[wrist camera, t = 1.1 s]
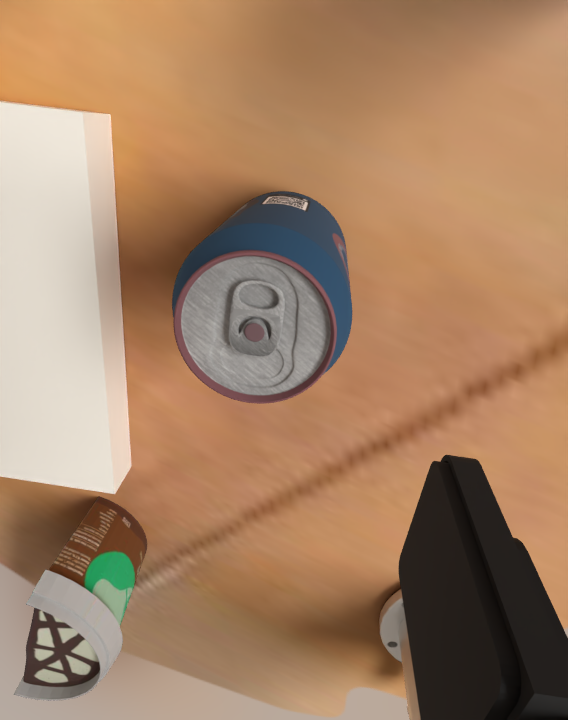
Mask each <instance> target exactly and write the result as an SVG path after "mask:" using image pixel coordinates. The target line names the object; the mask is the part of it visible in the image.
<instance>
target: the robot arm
mask: <svg viewBox="0 0 568 720" xmlns="http://www.w3.org/2000/svg"><path fill="white" fill-rule="evenodd" d="M399 579H400V586H401V589H400V590H399V591H397V592H396V593H395V594H393V595H392V596H391V597H390V598H389V599H388V601H387V602H386V603H385V604H384V606H383V608H382V610H381V612H380V618H379V626H380V636H381V639H382V643H383V644H384V646H385V648H386V649H387V651H388V652H389V653H390V654H391V655H392V656H393V657H394V658H396V659H397V660H398V661H400V662H401V663H402V665H403V673H404V681H405V689H406V696H407V704H408V706H407V710H408V714H409V719H410V720H568V638H567V636H566V634H565V631H564V629H563V627H562V625H561V623H560V621H559V618H558V616H557V614H556V612H555V610H554V608H553V605H552V603H551V601H550V599H549V597H548V595H547V592H546V590H545V588H544V586H543V584H542V582H541V579H540V577H539V575H538V573H537V571H536V569H535V566H534V564H533V562H532V560H531V558H530V555H529V553H528V551H527V550H526V548H525V546H524V545H523V543H522V542H521V541H520V540H518V539H517V538H513V537H512V535H511V532H510V530H509V528H508V526H507V523H506V521H505V519H504V517H503V514H502V512H501V510H500V507H499V505H498V503H497V501H496V498H495V496H494V494H493V492H492V489H491V487H490V485H489V482H488V480H487V478H486V476H485V473H484V471H483V469H482V467H481V464H480V463H479V461H478V460H476V459H472V458H465V457H458V456H451V455H445V456H444V457H443V458H442V460H441V462H438V461H433V462H432V464H431V466H430V469H429V472H428V475H427V478H426V481H425V484H424V487H423V490H422V493H421V496H420V499H419V502H418V505H417V508H416V511H415V514H414V517H413V520H412V522H411V525H410V528H409V531H408V534H407V537H406V540H405V543H404V546H403V549H402V552H401V555H400V560H399Z"/></svg>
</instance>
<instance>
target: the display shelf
mask: <svg viewBox="0 0 568 720" xmlns="http://www.w3.org/2000/svg"><path fill="white" fill-rule="evenodd" d="M130 468H131V450H130V434H129V417H128V400H127V383H126V366H125V349H124V333H123V316H122V299H121V282H120V265H119V248H118V232H117V215H116V198H115V181H114V164H113V147H112V131H111V114H104V113H96V112H88V111H80V110H72V109H64V108H56V107H48V106H40V105H32V104H24V103H15V102H7V101H0V476H1V477H7V478H14V479H20V480H27V481H33V482H40V483H46V484H53V485H59V486H66V487H72V488H79V489H85V490H92V491H98V492H105V493H111V494H115V493H116V491H117V490H118V488H119V486H120V485H121V483H122V481H123V480H124V478H125V476H126V475H127V473H128V471H129V470H130Z"/></svg>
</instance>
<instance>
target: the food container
mask: <svg viewBox="0 0 568 720" xmlns="http://www.w3.org/2000/svg"><path fill="white" fill-rule="evenodd" d="M146 550H147V539H146V536H145V533H144V531H143V529H142V527H141V526H140V524H139V523H138V521H137V520H136V519H135V518H134V517H133V516H132V515H131V514H130V513H128V512H127V511H126V510H125V509H123V508H122V507H120V506H119V505H117V504H115V503H113V502H111V501H109V500H107V499H104V498H102V497H98V498H97V500H96V501H95V503H94V504H93V506H92V507H91V509H90V510H89V512H88V513H87V514H86V516H85V517H84V519H83V520H82V522H81V523H80V525H79V526H78V528H77V529H76V531H75V532H74V533H73V535H72V536H71V538H70V539H69V541H68V542H67V544H66V545H65V547H64V548H63V550H62V551H61V553H60V554H59V555H58V557H57V558H56V560H55V561H54V563H53V564H52V566H51V567H50V569H49V570H45V571H44V573H43V575H42V576H41V578H40V580H39V582H38V583H37V585H36V587H35V588H34V590H33V592H32V595H31V597H30V598H29V600H28V601H27V603H26V605H29V606H32V607H34V614H33V619H32V624H31V629H30V632H29V637H28V641H27V645H26V666H25V672H24V676H23V678H22V680H21V682H20V684H19V686H18V687H17V689H16V691H15V693H14V695H18V696H21V697H25V698H31V699H37V700H48V701H49V700H50V701H51V700H66V699H72V698H76V697H79V696H82V695H84V694H86V693H88V692H89V691H91V690H92V689H93V688H94V687H95V686H96V685H97V683H98V682H99V681H101V680H102V679H103V678H104V676H105V675H106V674H107V672H108V671H109V669H110V668H111V666H112V664H113V663H114V661H115V660H116V658H117V657H118V655H119V653H120V651H121V648H122V643H123V640H122V632H121V629H120V625H121V622H122V619H123V616H124V613H125V610H126V608H127V605H128V602H129V599H130V596H131V593H132V590H133V588H134V585H135V582H136V579H137V576H138V573H139V571H140V568H141V565H142V562H143V559H144V556H145V554H146Z"/></svg>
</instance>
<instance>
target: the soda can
mask: <svg viewBox="0 0 568 720" xmlns="http://www.w3.org/2000/svg"><path fill="white" fill-rule="evenodd" d="M172 309H173V317H174V333H175V339H176V342H177V345H178V348H179V351H180V353H181V355H182V357H183V359H184V361H185V362H186V364H187V366H188V367H189V368H190V370H191V371H192V372H193V373H194V374H195V375H196V376H197V377H198V378H199V379H200V380H201V381H202V382H203V383H204V384H206V385H207V386H208V387H210V388H211V389H213V390H214V391H216V392H218V393H220V394H222V395H224V396H226V397H229V398H231V399H234V400H238V401H242V402H248V403H274V402H279V401H283V400H286V399H289V398H292V397H294V396H296V395H298V394H300V393H302V392H304V391H305V390H307V389H308V388H309V387H311V386H312V385H313V384H314V383H315V382H316V381H317V380H318V379H319V378H320V377H321V376H322V375H323V374H324V373H325V372H327V371H328V370H329V369H330V368H331V367H332V366H333V364H334V363H335V362H336V361H337V359H338V358H339V357H340V355H341V353H342V351H343V350H344V347H345V345H346V343H347V340H348V337H349V334H350V329H351V324H352V302H351V292H350V282H349V273H348V263H347V253H346V245H345V240H344V237H343V233H342V231H341V229H340V227H339V225H338V223H337V221H336V220H335V218H334V217H333V216H332V215H331V213H330V212H329V211H328V210H327V209H326V208H325V207H323V206H322V205H321V204H320V203H318V202H317V201H315V200H313V199H312V198H309V197H307V196H305V195H302V194H298V193H294V192H285V191H280V192H271V193H267V194H263V195H261V196H258V197H256V198H254V199H252V200H250V201H249V202H247V203H246V204H245V205H243V206H242V207H241V208H240V209H239V210H238V211H237V212H235V213H234V214H233V215H232V216H231V217H230V218H228V219H227V220H226V221H225V222H224V223H223V224H222V225H220V226H219V227H218V228H217V229H216V230H215V231H214V232H212V233H211V234H210V235H209V236H208V237H207V238H205V239H204V240H203V241H202V242H201V243H200V244H199V245H197V246H196V247H195V248H194V249H193V251H192V252H191V253H190V254H189V255H188V257H187V258H186V260H185V261H184V263H183V264H182V266H181V268H180V270H179V273H178V275H177V278H176V281H175V285H174V290H173V298H172Z"/></svg>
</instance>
